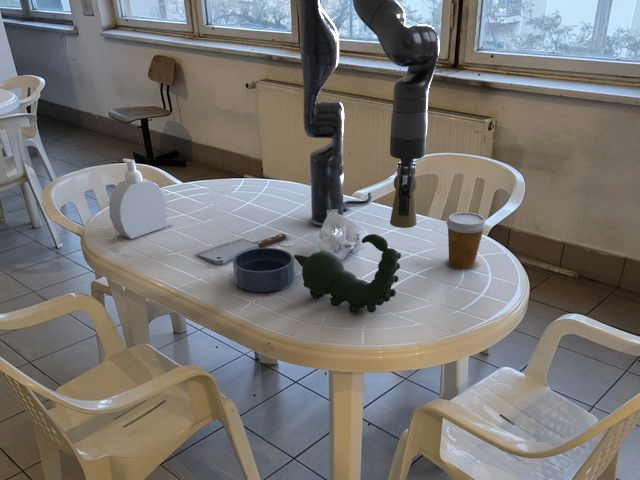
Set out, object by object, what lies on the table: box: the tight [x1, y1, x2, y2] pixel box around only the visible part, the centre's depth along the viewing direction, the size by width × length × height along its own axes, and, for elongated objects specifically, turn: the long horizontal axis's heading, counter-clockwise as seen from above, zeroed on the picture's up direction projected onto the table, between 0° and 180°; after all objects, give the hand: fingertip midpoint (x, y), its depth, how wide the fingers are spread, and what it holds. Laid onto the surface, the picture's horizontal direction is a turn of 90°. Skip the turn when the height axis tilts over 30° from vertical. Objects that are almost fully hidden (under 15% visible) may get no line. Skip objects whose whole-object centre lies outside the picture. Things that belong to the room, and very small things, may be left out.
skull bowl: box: [317, 212, 369, 261], centre depth 160 cm, size 10×14×12 cm
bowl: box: [232, 247, 296, 293], centre depth 146 cm, size 14×14×6 cm
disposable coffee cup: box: [445, 211, 487, 270], centre depth 152 cm, size 10×10×12 cm
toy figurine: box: [293, 233, 402, 314], centre depth 133 cm, size 9×19×25 cm
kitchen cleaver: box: [196, 233, 287, 265], centre depth 164 cm, size 24×1×10 cm
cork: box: [389, 174, 418, 229], centre depth 137 cm, size 6×6×11 cm
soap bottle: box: [108, 158, 169, 240], centre depth 170 cm, size 16×5×20 cm, turn 141°
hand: (403, 211), depth 138 cm, fingers closed on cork, 4 cm apart
